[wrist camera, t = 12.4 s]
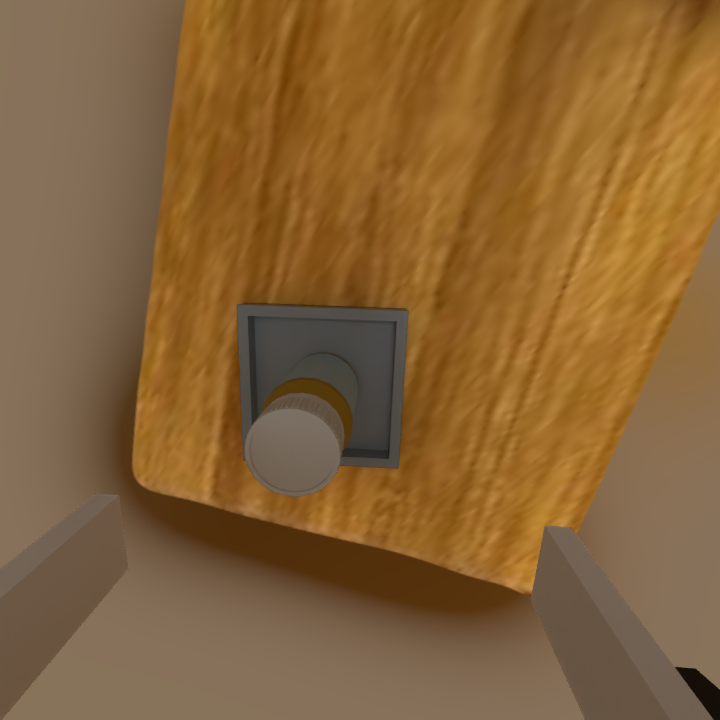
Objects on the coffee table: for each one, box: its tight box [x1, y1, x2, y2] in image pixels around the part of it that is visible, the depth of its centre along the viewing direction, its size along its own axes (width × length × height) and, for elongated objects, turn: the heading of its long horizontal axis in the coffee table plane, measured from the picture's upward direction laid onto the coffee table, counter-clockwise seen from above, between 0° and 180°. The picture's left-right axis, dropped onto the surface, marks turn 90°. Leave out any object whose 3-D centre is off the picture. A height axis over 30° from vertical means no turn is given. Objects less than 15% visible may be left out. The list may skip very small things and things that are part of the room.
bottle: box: [245, 353, 358, 497], centre depth 30 cm, size 7×7×15 cm
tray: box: [237, 303, 408, 469], centre depth 37 cm, size 16×16×2 cm
